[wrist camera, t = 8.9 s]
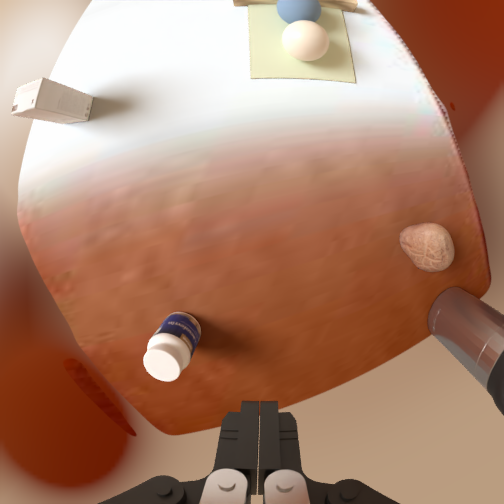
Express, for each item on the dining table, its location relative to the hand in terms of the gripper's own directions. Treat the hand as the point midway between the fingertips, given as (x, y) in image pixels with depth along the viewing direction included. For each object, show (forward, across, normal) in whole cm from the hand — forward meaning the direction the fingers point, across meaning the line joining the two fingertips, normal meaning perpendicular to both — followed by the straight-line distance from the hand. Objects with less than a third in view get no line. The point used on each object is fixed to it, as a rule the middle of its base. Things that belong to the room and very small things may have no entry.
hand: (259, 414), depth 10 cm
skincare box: (+26, +28, -24) cm, 45 cm away
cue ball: (+23, -6, -29) cm, 37 cm away
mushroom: (+26, -21, -3) cm, 34 cm away
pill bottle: (+26, +12, +10) cm, 30 cm away
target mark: (+26, -6, -31) cm, 41 cm away
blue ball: (+23, -5, -35) cm, 42 cm away
